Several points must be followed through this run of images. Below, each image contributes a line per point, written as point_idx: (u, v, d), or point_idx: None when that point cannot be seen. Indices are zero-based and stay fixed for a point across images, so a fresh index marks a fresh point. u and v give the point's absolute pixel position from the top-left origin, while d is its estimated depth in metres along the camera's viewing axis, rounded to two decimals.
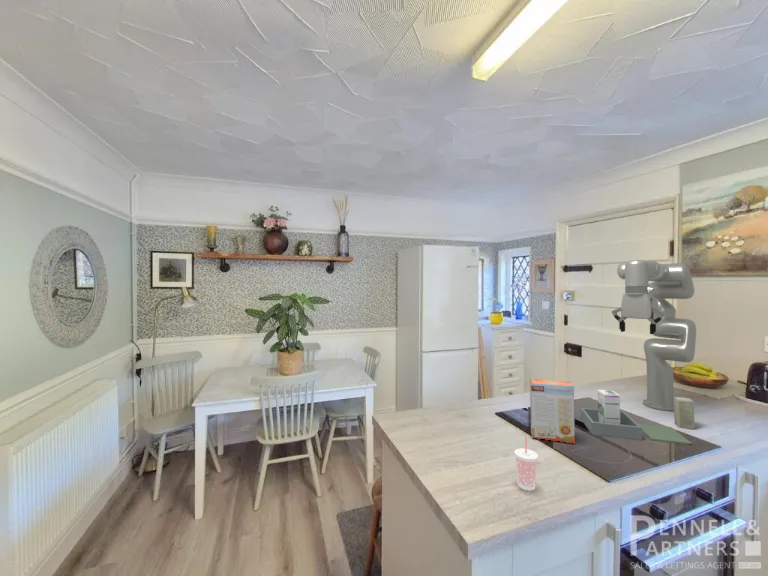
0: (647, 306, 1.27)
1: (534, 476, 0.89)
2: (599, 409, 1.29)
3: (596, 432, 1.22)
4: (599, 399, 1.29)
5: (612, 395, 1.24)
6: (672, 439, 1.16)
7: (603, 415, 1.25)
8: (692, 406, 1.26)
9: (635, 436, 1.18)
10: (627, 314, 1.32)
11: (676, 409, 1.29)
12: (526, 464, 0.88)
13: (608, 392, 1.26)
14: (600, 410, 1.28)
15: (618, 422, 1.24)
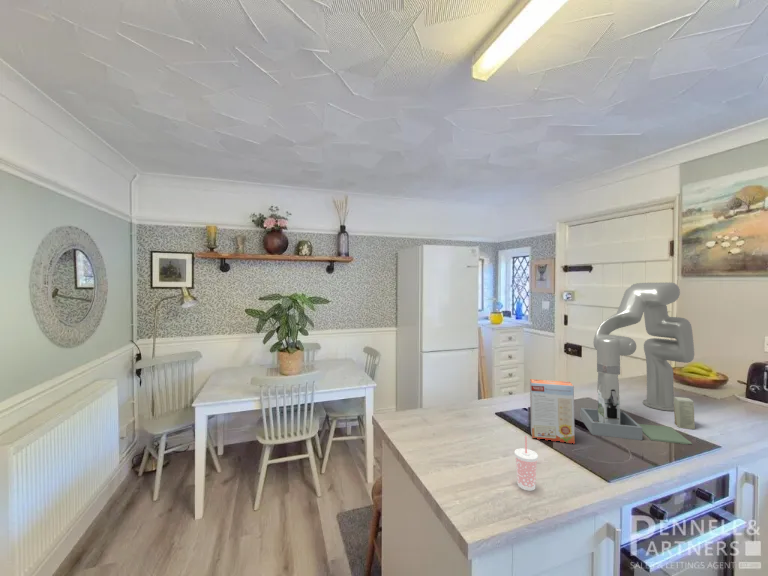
0: None
1: (534, 476, 0.89)
2: (599, 409, 1.29)
3: (596, 432, 1.22)
4: (599, 399, 1.29)
5: None
6: (672, 439, 1.16)
7: (603, 415, 1.25)
8: (692, 406, 1.26)
9: (635, 436, 1.18)
10: None
11: (676, 409, 1.29)
12: (526, 464, 0.88)
13: None
14: (600, 410, 1.28)
15: (618, 422, 1.24)
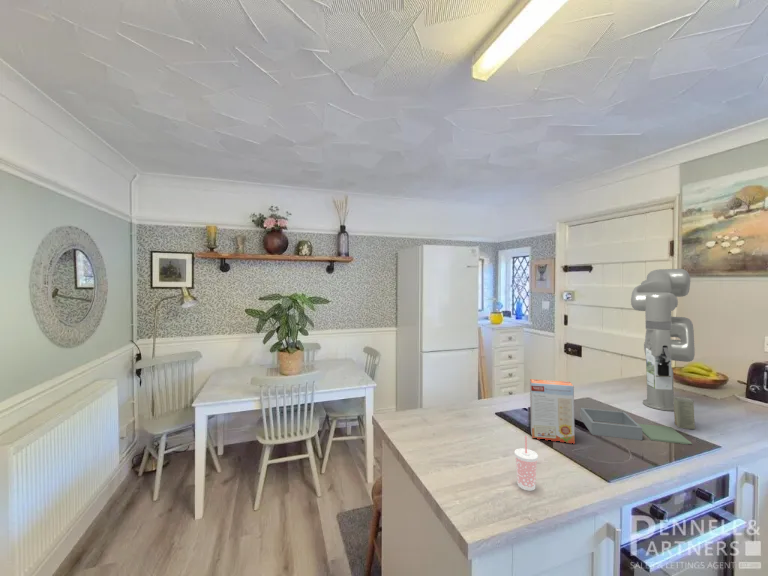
0: None
1: (534, 476, 0.89)
2: (648, 368, 1.24)
3: (596, 432, 1.22)
4: (648, 357, 1.24)
5: None
6: (672, 439, 1.16)
7: (654, 373, 1.20)
8: (692, 406, 1.26)
9: (635, 436, 1.18)
10: None
11: (676, 409, 1.29)
12: (526, 464, 0.88)
13: None
14: (649, 369, 1.23)
15: (669, 380, 1.19)
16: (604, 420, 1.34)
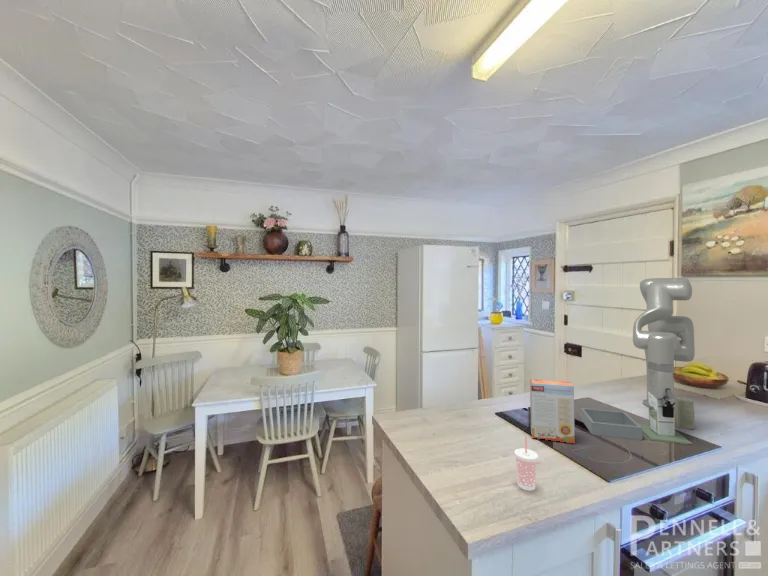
0: None
1: (534, 476, 0.89)
2: (650, 412, 1.24)
3: (596, 432, 1.22)
4: (650, 402, 1.24)
5: None
6: (672, 439, 1.16)
7: (656, 418, 1.20)
8: (692, 406, 1.26)
9: (635, 436, 1.18)
10: None
11: (676, 409, 1.29)
12: (526, 464, 0.88)
13: None
14: (652, 414, 1.23)
15: (672, 426, 1.19)
16: (604, 420, 1.34)
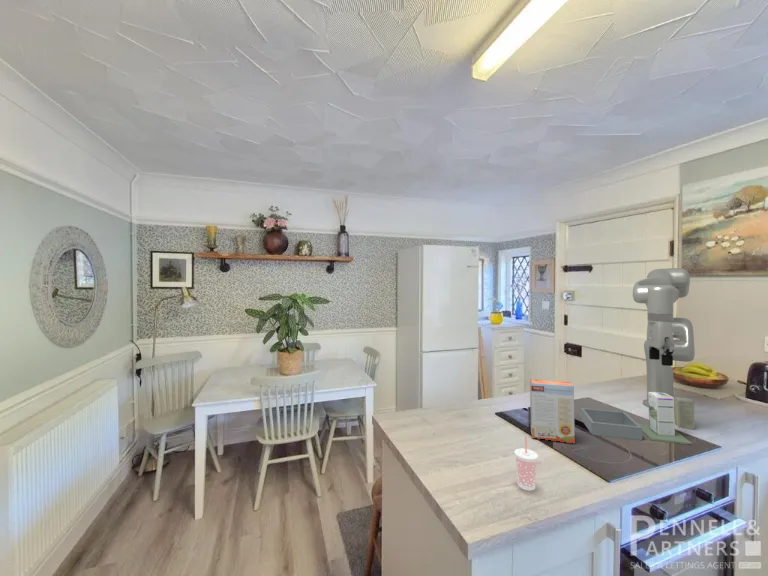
0: None
1: (534, 476, 0.89)
2: (650, 412, 1.24)
3: (596, 432, 1.22)
4: (650, 402, 1.24)
5: (666, 398, 1.19)
6: (672, 439, 1.16)
7: (656, 418, 1.20)
8: (692, 406, 1.26)
9: (635, 436, 1.18)
10: None
11: (676, 409, 1.29)
12: (526, 464, 0.88)
13: (661, 394, 1.21)
14: (652, 414, 1.23)
15: (672, 426, 1.19)
16: (604, 420, 1.34)
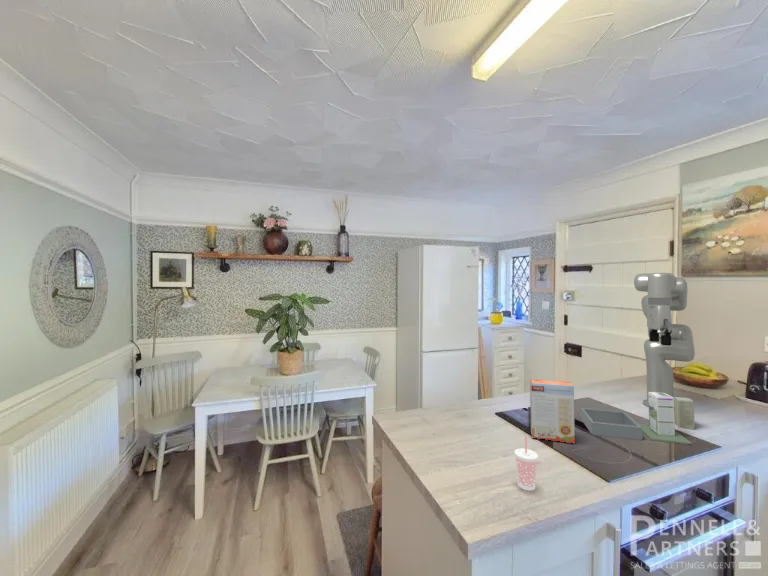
0: None
1: (534, 476, 0.89)
2: (650, 412, 1.24)
3: (596, 432, 1.22)
4: (650, 402, 1.24)
5: (666, 398, 1.19)
6: (672, 439, 1.16)
7: (656, 418, 1.20)
8: (692, 406, 1.26)
9: (635, 436, 1.18)
10: None
11: (676, 409, 1.29)
12: (526, 464, 0.88)
13: (661, 394, 1.21)
14: (652, 414, 1.23)
15: (672, 426, 1.19)
16: (604, 420, 1.34)
